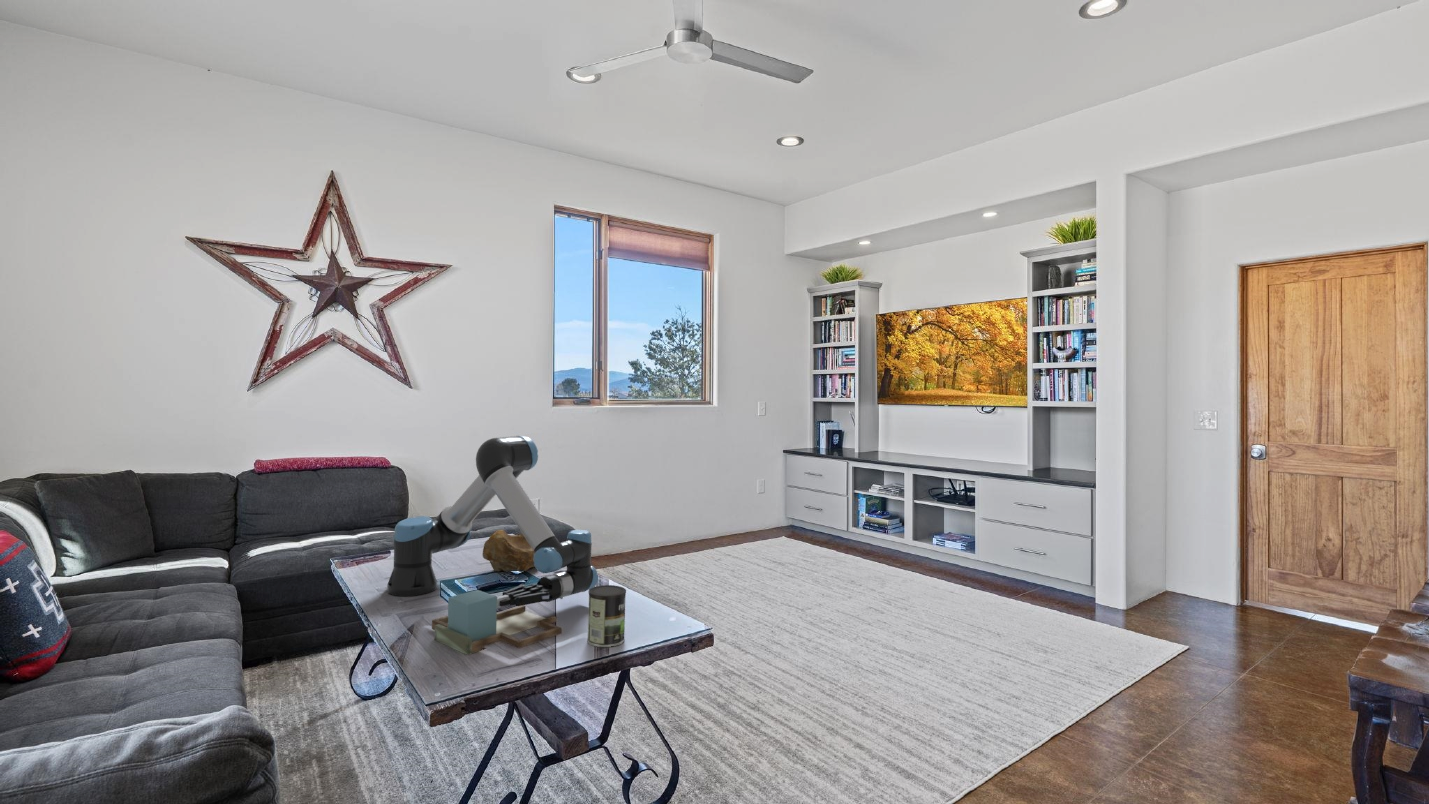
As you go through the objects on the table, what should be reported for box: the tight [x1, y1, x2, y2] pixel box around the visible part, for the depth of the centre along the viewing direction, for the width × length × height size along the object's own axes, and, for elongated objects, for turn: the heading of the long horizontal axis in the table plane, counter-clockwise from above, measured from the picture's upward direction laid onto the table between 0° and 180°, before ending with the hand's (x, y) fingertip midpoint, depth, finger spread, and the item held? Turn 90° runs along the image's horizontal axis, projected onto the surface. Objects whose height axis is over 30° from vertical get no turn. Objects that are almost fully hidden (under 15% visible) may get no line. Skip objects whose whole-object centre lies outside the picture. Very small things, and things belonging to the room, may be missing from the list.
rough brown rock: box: [482, 529, 535, 572], centre depth 255 cm, size 23×17×15 cm
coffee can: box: [587, 584, 627, 648], centre depth 189 cm, size 10×10×14 cm
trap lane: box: [431, 605, 563, 656], centre depth 192 cm, size 29×31×4 cm
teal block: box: [447, 589, 498, 642], centre depth 186 cm, size 9×9×11 cm
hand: (487, 605), depth 190 cm, fingers closed
